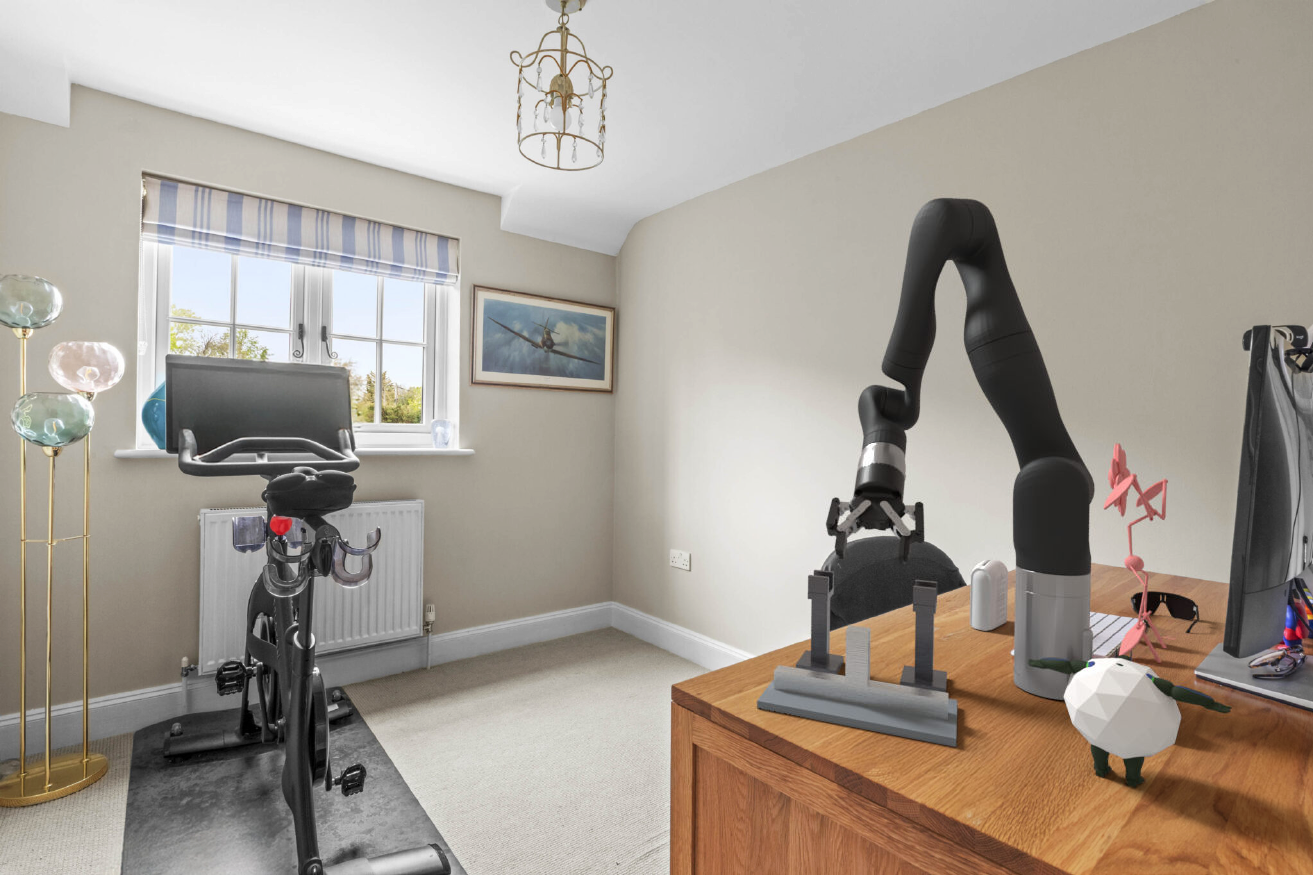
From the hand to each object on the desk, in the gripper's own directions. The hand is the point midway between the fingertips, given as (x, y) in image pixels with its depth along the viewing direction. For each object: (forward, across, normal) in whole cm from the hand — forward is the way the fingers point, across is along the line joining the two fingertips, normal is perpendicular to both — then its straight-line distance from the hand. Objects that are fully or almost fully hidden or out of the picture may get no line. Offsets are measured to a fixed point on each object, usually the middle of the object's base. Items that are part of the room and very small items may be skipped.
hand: (870, 559), depth 97 cm
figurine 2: (+24, +28, +1) cm, 37 cm away
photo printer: (-14, +17, +39) cm, 45 cm away
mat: (+21, 0, +4) cm, 21 cm away
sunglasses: (-26, +48, +51) cm, 75 cm away
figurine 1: (-11, +36, +36) cm, 52 cm away
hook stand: (+12, 0, +14) cm, 18 cm away
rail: (+20, 0, +4) cm, 20 cm away
